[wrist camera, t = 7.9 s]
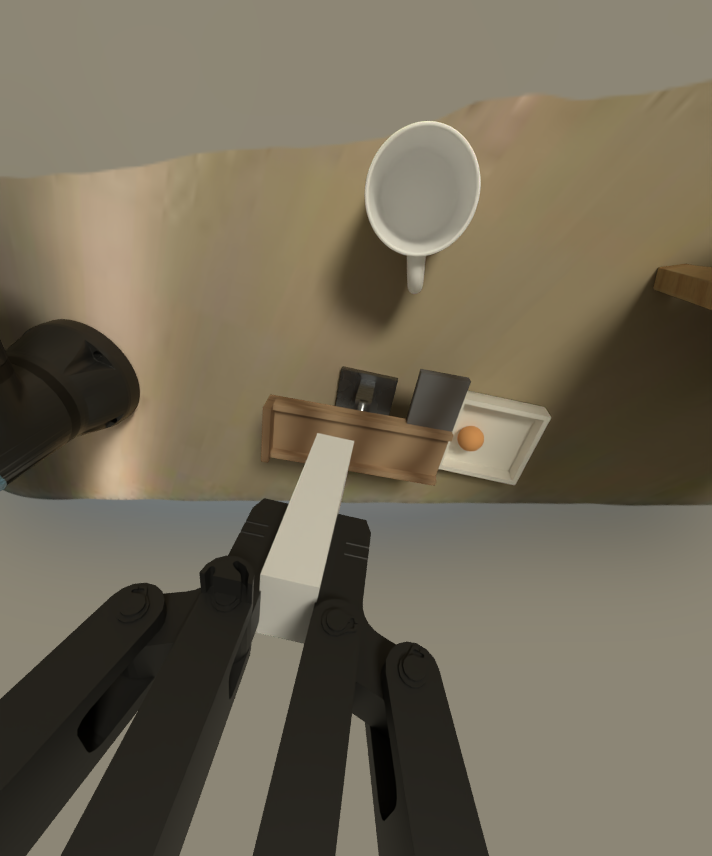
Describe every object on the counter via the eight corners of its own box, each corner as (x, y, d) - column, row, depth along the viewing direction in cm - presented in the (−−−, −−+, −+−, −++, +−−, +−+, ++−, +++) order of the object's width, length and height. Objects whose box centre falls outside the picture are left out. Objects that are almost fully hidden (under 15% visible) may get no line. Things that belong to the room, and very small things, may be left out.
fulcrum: (331, 432, 51) (321, 462, 45) (342, 366, 45) (332, 390, 40) (381, 443, 51) (377, 474, 45) (398, 378, 45) (395, 403, 39)
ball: (454, 452, 45) (480, 459, 45) (462, 431, 44) (489, 438, 43) (453, 439, 48) (477, 445, 48) (461, 418, 46) (486, 424, 46)
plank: (267, 446, 43) (261, 461, 41) (272, 341, 36) (264, 351, 34) (432, 475, 44) (435, 491, 42) (468, 377, 37) (474, 390, 35)
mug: (452, 283, 39) (463, 306, 30) (374, 282, 40) (364, 304, 31) (469, 141, 33) (490, 118, 24) (377, 143, 34) (364, 122, 25)
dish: (434, 456, 51) (435, 468, 48) (459, 388, 45) (461, 398, 43) (510, 473, 50) (514, 485, 48) (544, 406, 45) (551, 417, 42)
